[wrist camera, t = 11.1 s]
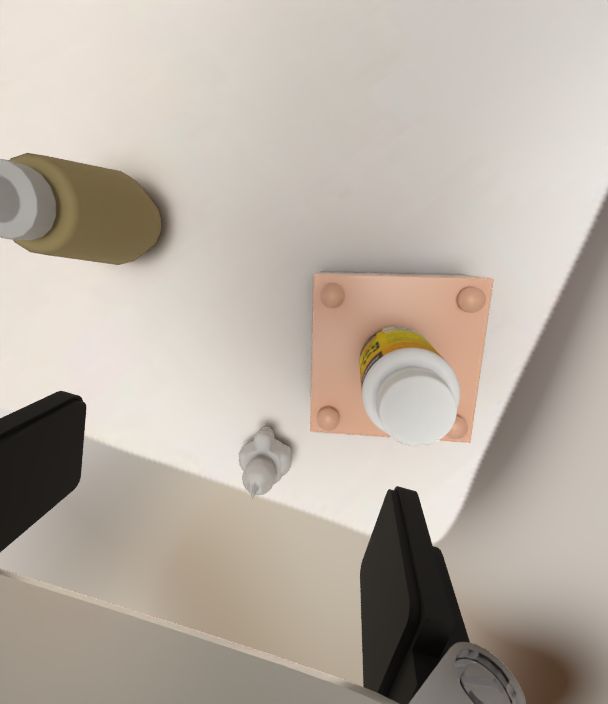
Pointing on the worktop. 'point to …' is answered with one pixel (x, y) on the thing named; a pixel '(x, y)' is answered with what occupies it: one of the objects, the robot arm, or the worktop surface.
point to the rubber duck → (263, 462)
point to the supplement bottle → (408, 386)
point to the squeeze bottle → (75, 210)
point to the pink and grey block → (385, 311)
